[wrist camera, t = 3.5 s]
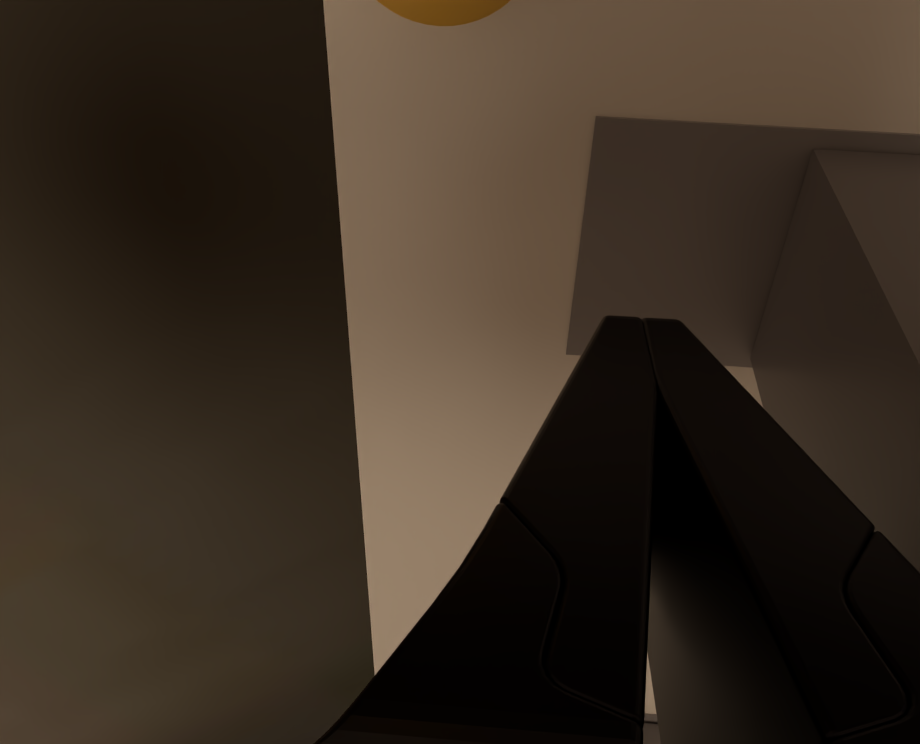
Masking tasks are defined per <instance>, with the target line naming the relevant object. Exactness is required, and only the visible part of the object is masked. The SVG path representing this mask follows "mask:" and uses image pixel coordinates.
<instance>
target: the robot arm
mask: <svg viewBox="0 0 920 744" xmlns="http://www.w3.org/2000/svg"><path fill="white" fill-rule="evenodd" d="M874 530H875V526H874V525H873V523H872V522H871V521H870V520H869V519H868V518H867V517H866V516H865V515H864V514H863V513H862V512H861V511H860V510H859V509H858V508H857V506H856V505H855V504H854V503H853V502H852V501H851V500H850V499H849V498H848V497H847V496H846V495H845V494H844V493H843V492H842V491H841V490H840V488H839V487H838V486H837V485H836V484H835V483H834V482H833V481H832V480H831V479H830V478H829V477H828V476H827V475H826V474H825V473H824V472H823V470H822V469H821V468H820V467H819V466H818V465H817V464H816V463H815V462H814V461H813V460H812V459H811V458H810V457H809V456H808V455H807V454H806V452H805V451H804V450H803V449H802V448H801V447H800V446H799V445H798V444H797V443H796V442H795V441H794V440H793V439H792V438H791V437H790V436H789V434H788V433H787V432H786V431H785V430H784V429H783V428H782V427H781V426H780V425H779V424H778V423H777V422H776V421H775V420H774V419H773V418H772V417H771V415H770V414H769V413H768V412H767V411H766V410H765V409H764V408H763V407H762V406H761V405H760V404H759V403H758V402H757V401H756V400H755V399H754V397H753V396H752V395H751V394H750V393H749V392H748V391H747V390H746V389H745V388H744V387H743V386H742V385H741V384H740V383H739V382H738V381H737V379H736V378H735V377H734V376H733V375H732V374H731V373H730V372H729V371H728V370H727V369H726V368H725V367H724V366H723V365H722V364H721V363H720V361H719V360H718V359H717V358H716V357H715V356H714V355H713V354H712V353H711V352H710V351H709V350H708V349H707V348H706V347H705V346H704V345H703V343H702V342H701V341H700V340H699V339H698V338H697V337H696V336H695V335H694V334H693V333H692V332H691V331H690V330H689V329H688V328H687V327H686V326H685V324H684V323H682V322H681V321H679V320H677V319H664V318H643V319H640V318H639V317H631V316H615V315H606V316H604V317H603V318H602V319H601V321H600V323H599V324H598V326H597V328H596V330H595V331H594V333H593V335H592V337H591V339H590V340H589V342H588V344H587V346H586V347H585V349H584V351H583V353H582V355H581V356H580V358H579V360H578V362H577V363H576V365H575V367H574V369H573V371H572V372H571V374H570V376H569V378H568V379H567V381H566V383H565V385H564V387H563V388H562V390H561V392H560V394H559V395H558V397H557V399H556V401H555V403H554V404H553V406H552V408H551V410H550V411H549V413H548V415H547V417H546V419H545V420H544V422H543V424H542V426H541V428H540V429H539V431H538V433H537V435H536V436H535V438H534V440H533V442H532V444H531V445H530V447H529V449H528V451H527V452H526V454H525V456H524V458H523V460H522V461H521V463H520V465H519V467H518V468H517V470H516V472H515V474H514V476H513V477H512V479H511V481H510V483H509V484H508V486H507V488H506V490H505V492H504V493H503V495H502V497H501V499H500V502H499V504H497V505H496V507H495V508H494V510H493V512H492V514H491V516H490V517H489V519H488V521H487V523H486V524H485V526H484V528H483V530H482V531H481V533H480V534H479V536H478V538H477V539H476V541H475V543H474V544H473V546H472V547H471V549H470V551H469V552H468V554H467V555H466V557H465V559H464V560H463V562H462V563H461V565H460V566H459V568H458V569H457V571H456V572H455V573H454V575H453V576H452V577H451V579H450V580H449V581H448V583H447V584H446V585H445V587H444V588H443V590H442V591H441V592H440V594H439V595H438V596H437V598H436V599H435V600H434V602H433V603H432V604H431V606H430V607H429V608H428V609H427V611H426V612H425V613H424V614H423V616H422V617H421V618H420V619H419V621H418V622H417V623H416V624H415V626H414V627H413V628H412V629H411V631H410V632H409V633H408V634H407V636H406V637H405V638H404V639H403V641H402V642H401V643H400V644H399V646H398V647H397V648H396V649H395V651H394V652H393V653H392V655H391V656H390V657H389V658H388V660H387V661H386V662H385V663H384V665H383V666H382V667H381V668H380V670H379V671H378V672H377V673H376V675H375V676H374V677H373V678H372V680H371V681H370V682H369V683H368V685H367V686H366V687H365V688H364V690H363V691H362V692H361V693H360V695H359V696H358V697H357V698H356V699H355V701H354V702H353V703H352V704H351V705H350V707H349V708H348V709H347V710H346V711H345V712H344V714H343V715H342V716H341V717H340V718H339V719H338V720H337V721H336V722H335V723H334V725H333V726H332V727H331V728H330V729H329V730H328V731H327V732H326V733H325V734H324V735H323V736H322V737H321V738H319V739H318V740H317V741H316V742H315V743H314V744H643V738H644V734H643V726H644V718H645V694H646V671H647V653H648V659H649V666H650V673H651V680H652V687H653V694H654V700H655V707H656V714H657V721H658V728H659V735H660V741H661V744H920V572H919V571H918V570H917V569H916V568H915V567H914V566H913V565H912V564H911V563H910V562H909V561H908V560H907V559H906V558H905V557H904V556H903V555H902V554H901V553H900V552H899V550H898V549H897V548H896V547H895V546H894V545H893V544H892V543H891V542H890V541H889V540H888V539H887V538H886V537H885V536H884V535H883V534H882V533H881V532H880V531H875V532H874Z"/></svg>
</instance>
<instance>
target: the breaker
mask: <svg viewBox="0 0 920 744" xmlns="http://www.w3.org/2000/svg"><path fill="white" fill-rule="evenodd" d="M750 360H751V364H752V367H753V371H754V375H755V379H756V382H757V386H758V390H759V394H760V398H761V401H762V405H763V408H764V409H765V410H766V411H767V412H768V413H769V414H770V415H771V417H772V418H773V419H774V420H775V421H776V422H777V423H778V424H779V425H780V426H781V427H782V428H783V429H784V430H785V431H786V432H787V433H788V434H789V436H790V437H791V438H792V439H793V440H794V441H795V442H796V443H797V444H798V445H799V446H800V447H801V448H802V449H803V450H804V451H805V452H806V454H807V455H808V456H809V457H810V458H811V459H812V460H813V461H814V462H815V463H816V464H817V465H818V466H819V467H820V468H821V469H822V470H823V472H824V473H825V474H826V475H827V476H828V477H829V478H830V479H831V480H832V481H833V482H834V483H835V484H836V485H837V486H838V487H839V488H840V490H841V491H842V492H843V493H844V494H845V495H846V496H847V497H848V498H849V499H850V500H851V501H852V502H853V503H854V504H855V505H856V506H857V508H858V509H859V510H860V511H861V512H862V513H863V514H864V515H865V516H866V517H867V518H868V519H869V520H870V521H871V522H872V523H873V525H874V526H875V530H874V532H875V531H880V532H881V533H882V534H883V535H884V536H885V537H886V538H887V539H888V540H889V541H890V542H891V543H892V544H893V545H894V546H895V547H896V548H897V549H898V550H899V552H900V553H901V554H902V555H903V556H904V557H905V558H906V559H907V560H908V561H909V562H910V563H911V564H912V565H913V566H914V567H915V568H916V569H917V570H918V571H919V572H920V155H910V154H892V153H875V152H857V151H840V150H822V149H813V151H812V154H811V157H810V161H809V164H808V167H807V171H806V174H805V177H804V181H803V184H802V187H801V191H800V194H799V197H798V201H797V204H796V207H795V211H794V214H793V217H792V221H791V224H790V227H789V231H788V234H787V237H786V241H785V244H784V247H783V251H782V254H781V257H780V261H779V264H778V267H777V271H776V274H775V277H774V281H773V284H772V287H771V291H770V294H769V297H768V301H767V304H766V307H765V311H764V314H763V317H762V321H761V324H760V327H759V331H758V334H757V337H756V341H755V344H754V347H753V351H752V354H751V357H750Z"/></svg>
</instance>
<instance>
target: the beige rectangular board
mask: <svg viewBox="0 0 920 744" xmlns="http://www.w3.org/2000/svg"><path fill="white" fill-rule="evenodd" d="M323 4H324V17H325V31H326V44H327V57H328V70H329V83H330V96H331V109H332V122H333V135H334V148H335V161H336V174H337V187H338V200H339V214H340V227H341V240H342V253H343V266H344V279H345V292H346V305H347V318H348V331H349V344H350V357H351V370H352V383H353V397H354V410H355V423H356V436H357V449H358V462H359V475H360V488H361V501H362V514H363V527H364V540H365V553H366V566H367V580H368V593H369V606H370V619H371V632H372V645H373V658H374V671H375V675H376V673H377V672H378V671H379V670H380V668H381V667H382V666H383V665H384V663H385V662H386V661H387V660H388V658H389V657H390V656H391V655H392V653H393V652H394V651H395V649H396V648H397V647H398V646H399V644H400V643H401V642H402V641H403V639H404V638H405V637H406V636H407V634H408V633H409V632H410V631H411V629H412V628H413V627H414V626H415V624H416V623H417V622H418V621H419V619H420V618H421V617H422V616H423V614H424V613H425V612H426V611H427V609H428V608H429V607H430V606H431V604H432V603H433V602H434V600H435V599H436V598H437V596H438V595H439V594H440V592H441V591H442V590H443V588H444V587H445V585H446V584H447V583H448V581H449V580H450V579H451V577H452V576H453V575H454V573H455V572H456V571H457V569H458V568H459V566H460V565H461V563H462V562H463V560H464V559H465V557H466V555H467V554H468V552H469V551H470V549H471V547H472V546H473V544H474V543H475V541H476V539H477V538H478V536H479V534H480V533H481V531H482V530H483V528H484V526H485V524H486V523H487V521H488V519H489V517H490V516H491V514H492V512H493V510H494V508H495V507H496V505H497V504H499V502H500V499H501V497H502V495H503V493H504V492H505V490H506V488H507V486H508V484H509V483H510V481H511V479H512V477H513V476H514V474H515V472H516V470H517V468H518V467H519V465H520V463H521V461H522V460H523V458H524V456H525V454H526V452H527V451H528V449H529V447H530V445H531V444H532V442H533V440H534V438H535V436H536V435H537V433H538V431H539V429H540V428H541V426H542V424H543V422H544V420H545V419H546V417H547V415H548V413H549V411H550V410H551V408H552V406H553V404H554V403H555V401H556V399H557V397H558V395H559V394H560V392H561V390H562V388H563V387H564V385H565V383H566V381H567V379H568V378H569V376H570V374H571V372H572V371H573V369H574V367H575V365H576V363H577V362H578V360H579V358H580V356H581V355H582V353H583V351H584V349H585V347H586V346H587V344H588V342H589V340H590V339H591V337H592V335H593V333H594V331H595V330H596V328H597V326H598V324H599V323H600V321H601V319H602V318H603V317H604V316H606V315H615V316H631V317H639V318H640V319H643V318H664V319H677V320H679V321H681V322H682V323H684V324H685V326H686V327H687V328H688V329H689V330H690V331H691V332H692V333H693V334H694V335H695V336H696V337H697V338H698V339H699V340H700V341H701V342H702V343H703V345H704V346H705V347H706V348H707V349H708V350H709V351H710V352H711V353H712V354H713V355H714V356H715V357H716V358H717V359H718V360H719V361H720V363H721V364H722V365H723V366H724V367H725V368H726V369H727V370H728V371H729V372H730V373H731V374H732V375H733V376H734V377H735V378H736V379H737V381H738V382H739V383H740V384H741V385H742V386H743V387H744V388H745V389H746V390H747V391H748V392H749V393H750V394H751V395H752V396H753V397H754V399H755V400H756V401H757V402H758V403H759V404H760V405H761V406H762V407H763V405H762V401H761V398H760V394H759V390H758V386H757V382H756V379H755V375H754V371H753V367H752V364H751V360H750V357H751V354H752V351H753V347H754V344H755V341H756V337H757V334H758V331H759V327H760V324H761V321H762V317H763V314H764V311H765V307H766V304H767V301H768V297H769V294H770V291H771V287H772V284H773V281H774V277H775V274H776V271H777V267H778V264H779V261H780V257H781V254H782V251H783V247H784V244H785V241H786V237H787V234H788V231H789V227H790V224H791V221H792V217H793V214H794V211H795V207H796V204H797V201H798V197H799V194H800V191H801V187H802V184H803V181H804V177H805V174H806V171H807V167H808V164H809V161H810V157H811V154H812V151H813V149H822V150H840V151H857V152H875V153H892V154H910V155H920V0H323ZM644 723H650V724H658V721H657V714H656V707H655V700H654V694H653V687H652V680H651V673H650V666H649V659H648V653H647V671H646V694H645V718H644Z"/></svg>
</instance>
